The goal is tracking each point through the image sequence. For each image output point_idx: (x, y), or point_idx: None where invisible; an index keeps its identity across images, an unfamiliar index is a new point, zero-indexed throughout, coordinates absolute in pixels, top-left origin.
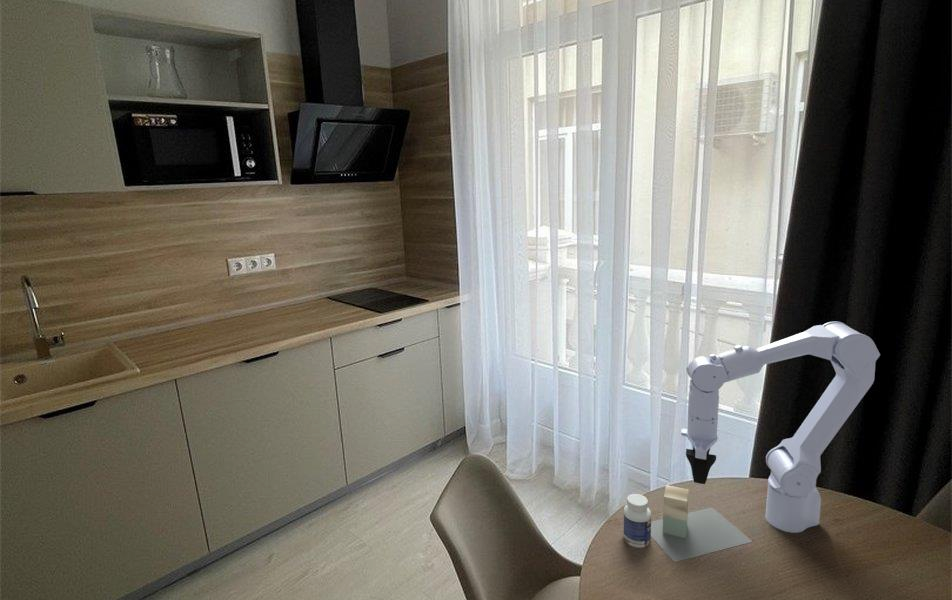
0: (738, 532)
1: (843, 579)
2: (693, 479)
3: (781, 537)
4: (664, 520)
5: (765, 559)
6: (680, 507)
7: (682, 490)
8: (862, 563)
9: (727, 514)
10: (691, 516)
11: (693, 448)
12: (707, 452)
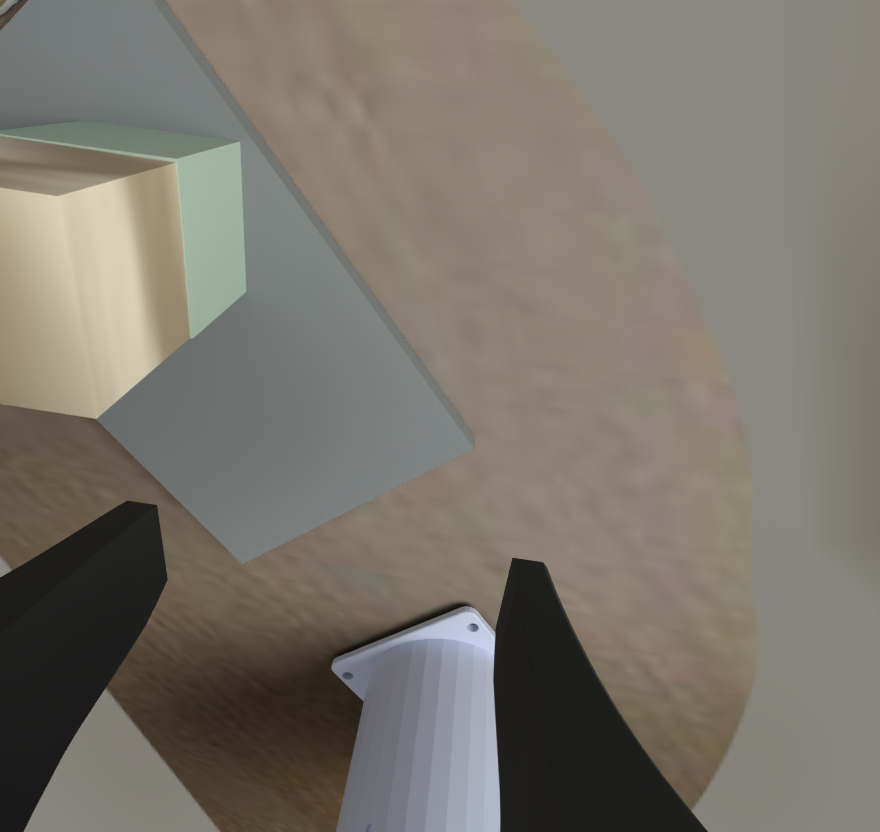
0: (286, 525)
1: (191, 732)
2: (106, 513)
3: (348, 649)
4: None
5: (177, 572)
6: None
7: (44, 363)
8: (295, 789)
9: (459, 501)
10: (344, 325)
11: (535, 705)
12: (503, 787)
